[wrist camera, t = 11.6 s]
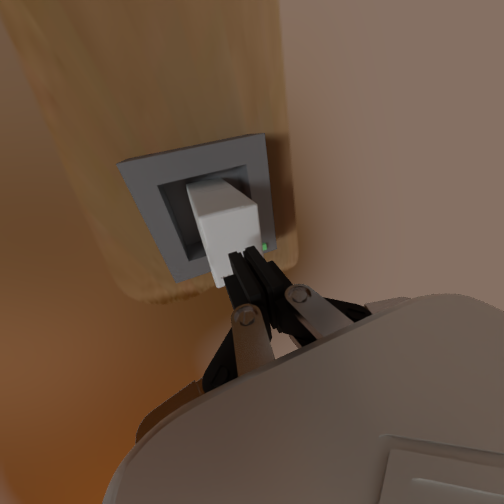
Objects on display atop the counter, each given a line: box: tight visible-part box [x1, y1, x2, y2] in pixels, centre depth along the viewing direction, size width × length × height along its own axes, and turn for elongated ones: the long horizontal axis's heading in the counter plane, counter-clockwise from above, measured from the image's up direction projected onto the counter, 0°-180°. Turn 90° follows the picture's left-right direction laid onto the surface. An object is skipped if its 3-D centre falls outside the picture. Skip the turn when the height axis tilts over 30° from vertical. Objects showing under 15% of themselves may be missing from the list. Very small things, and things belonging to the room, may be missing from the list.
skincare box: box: [186, 178, 264, 288], centre depth 19 cm, size 6×4×12 cm
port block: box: [116, 133, 277, 283], centre depth 22 cm, size 13×13×5 cm
